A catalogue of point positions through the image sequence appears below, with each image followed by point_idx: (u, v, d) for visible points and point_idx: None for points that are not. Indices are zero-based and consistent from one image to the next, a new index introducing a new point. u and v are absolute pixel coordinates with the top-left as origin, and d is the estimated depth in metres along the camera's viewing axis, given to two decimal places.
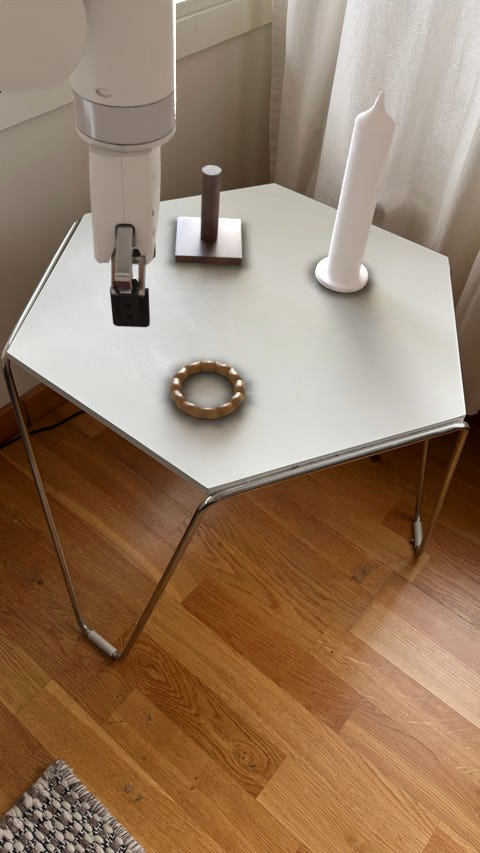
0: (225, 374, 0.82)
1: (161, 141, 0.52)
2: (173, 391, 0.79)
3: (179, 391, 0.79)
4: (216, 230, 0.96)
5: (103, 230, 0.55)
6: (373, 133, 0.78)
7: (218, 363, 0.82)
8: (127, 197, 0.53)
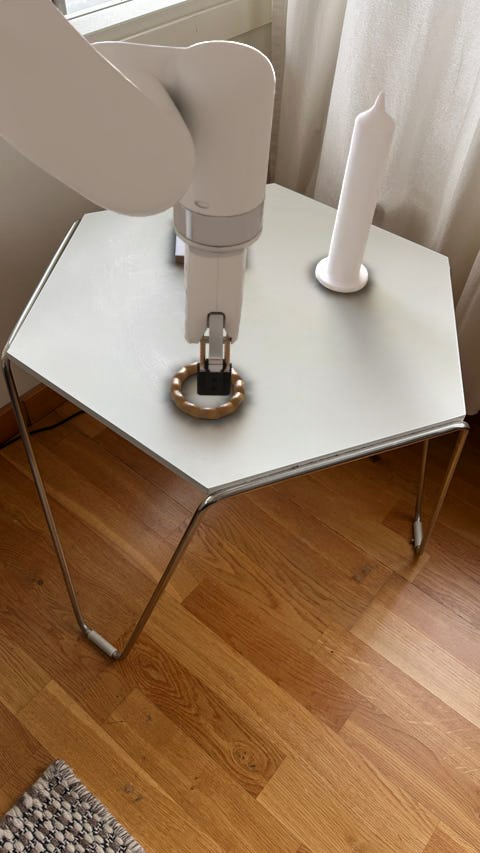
0: None
1: (252, 241, 0.58)
2: (173, 391, 0.79)
3: (179, 391, 0.79)
4: None
5: (196, 318, 0.61)
6: (373, 133, 0.78)
7: None
8: (221, 290, 0.59)
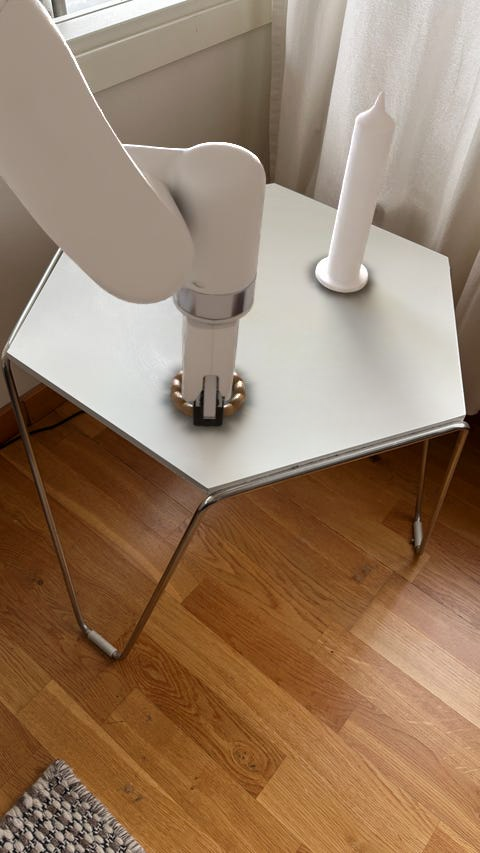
0: None
1: (244, 313, 0.64)
2: (173, 392, 0.79)
3: (179, 392, 0.79)
4: None
5: (192, 380, 0.67)
6: (373, 133, 0.78)
7: None
8: (215, 357, 0.65)
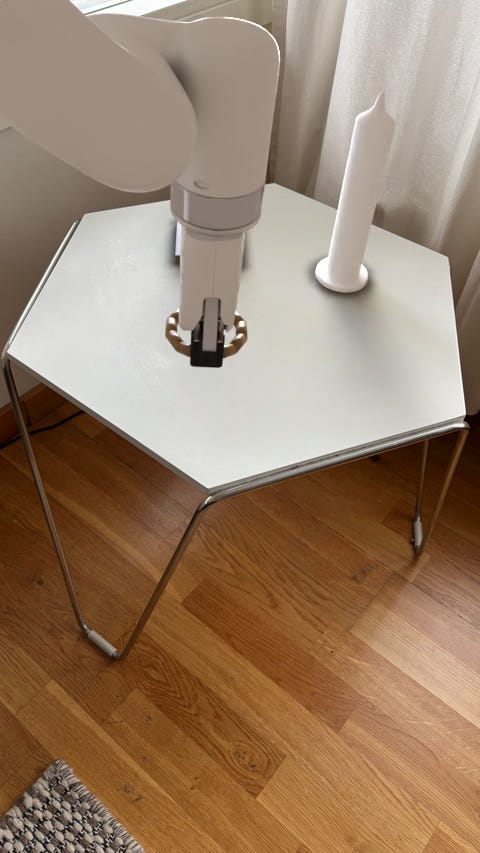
0: None
1: (251, 225, 0.57)
2: (169, 331, 0.71)
3: (175, 331, 0.72)
4: None
5: (191, 303, 0.59)
6: (373, 133, 0.78)
7: None
8: (218, 275, 0.57)
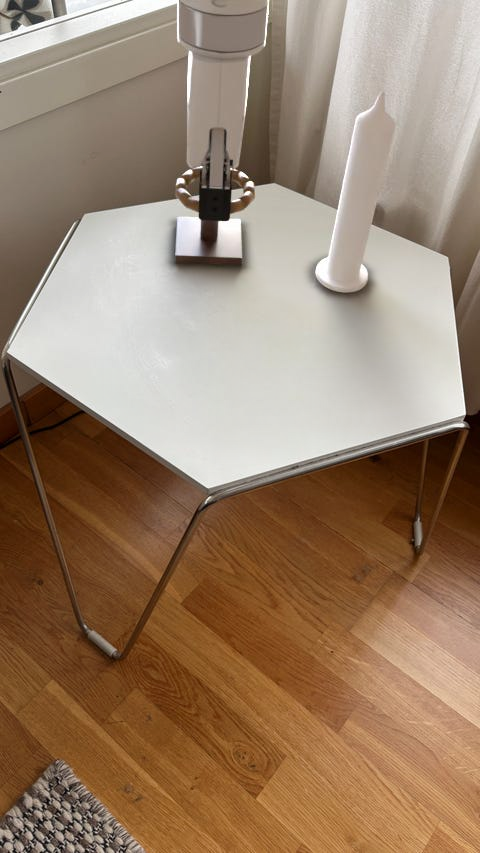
0: (234, 178, 0.77)
1: (254, 51, 0.59)
2: (178, 188, 0.74)
3: (185, 189, 0.74)
4: (216, 230, 0.96)
5: (198, 134, 0.62)
6: (373, 133, 0.78)
7: None
8: (223, 102, 0.60)
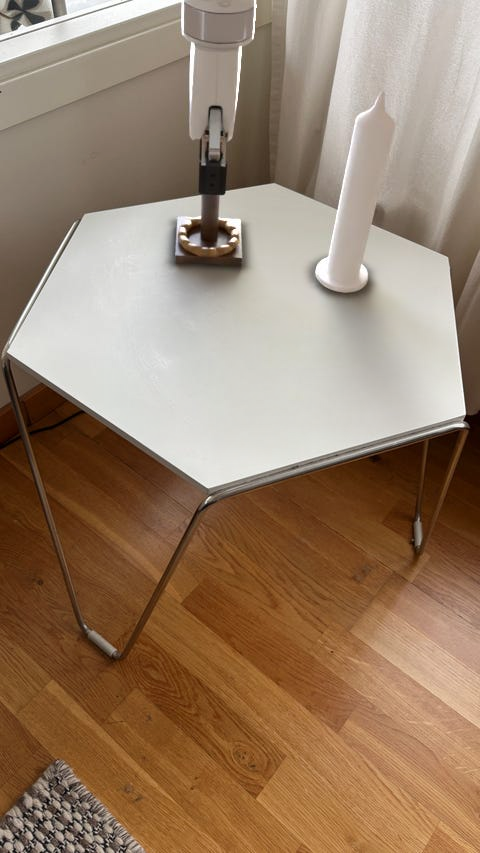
0: (223, 226, 0.98)
1: (245, 42, 0.72)
2: (180, 236, 0.95)
3: (185, 236, 0.96)
4: (216, 230, 0.96)
5: (199, 111, 0.75)
6: (373, 133, 0.78)
7: None
8: (219, 84, 0.73)
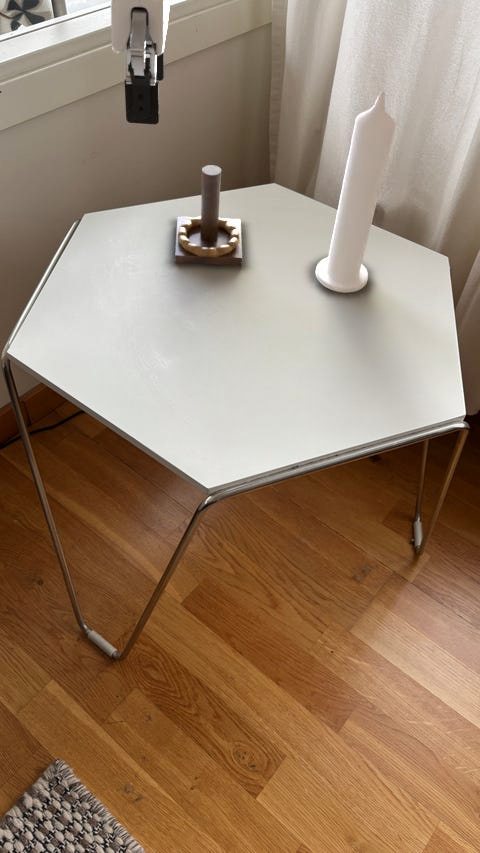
0: (223, 226, 0.98)
1: None
2: (180, 236, 0.95)
3: (185, 236, 0.96)
4: (216, 230, 0.96)
5: (120, 14, 0.63)
6: (373, 133, 0.78)
7: None
8: None
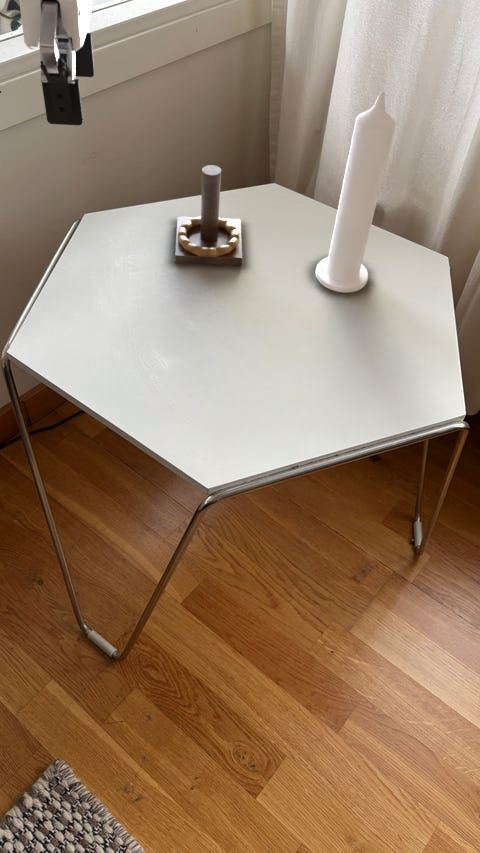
0: (223, 226, 0.98)
1: None
2: (180, 236, 0.95)
3: (185, 236, 0.96)
4: (216, 230, 0.96)
5: (29, 7, 0.58)
6: (373, 133, 0.78)
7: None
8: None
